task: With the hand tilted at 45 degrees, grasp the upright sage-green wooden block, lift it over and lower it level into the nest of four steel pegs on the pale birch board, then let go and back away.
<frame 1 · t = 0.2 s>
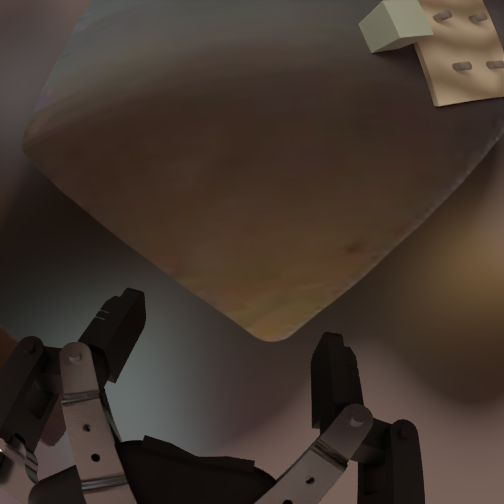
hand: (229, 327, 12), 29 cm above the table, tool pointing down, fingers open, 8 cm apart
peg board: (459, 43, 24), on the table
sage block: (379, 36, 26), on the table
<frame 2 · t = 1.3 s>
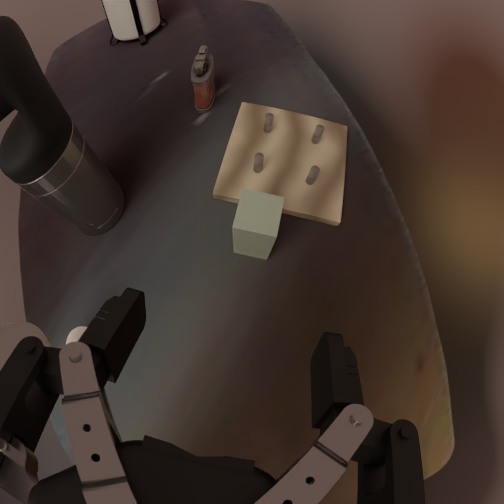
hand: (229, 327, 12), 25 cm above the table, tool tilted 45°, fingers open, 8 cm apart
coffee press: (140, 31, 52), on the table
champagne flute: (84, 349, 34), on the table
peg board: (286, 159, 42), on the table
sage block: (253, 240, 39), on the table
lighter: (205, 98, 45), on the table
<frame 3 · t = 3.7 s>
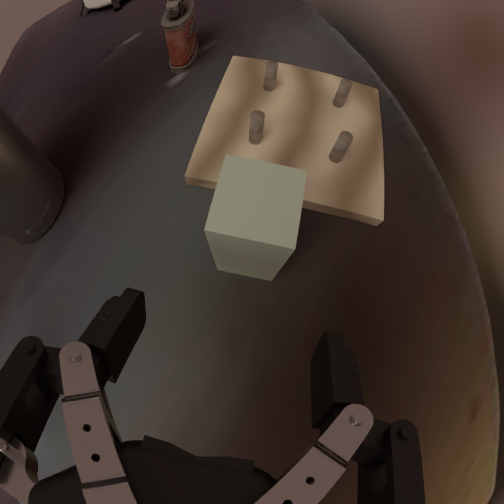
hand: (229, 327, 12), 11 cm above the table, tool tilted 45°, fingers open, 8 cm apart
coffee press: (116, 0, 37), on the table
peg board: (297, 128, 28), on the table
sage block: (249, 249, 24), on the table
lighter: (184, 56, 31), on the table
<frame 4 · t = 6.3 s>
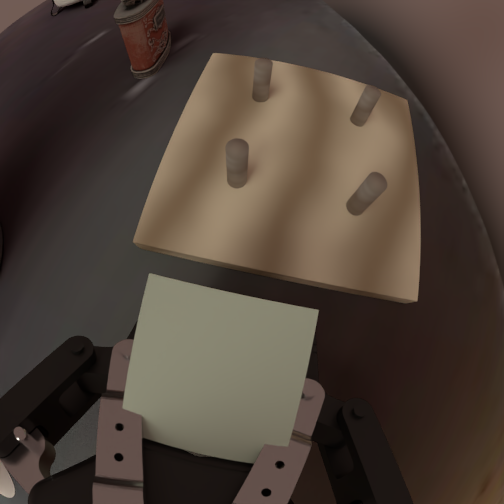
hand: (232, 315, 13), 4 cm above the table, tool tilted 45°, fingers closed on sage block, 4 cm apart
peg board: (300, 156, 20), on the table
sage block: (227, 348, 16), on the table, touching gripper
lighter: (153, 56, 23), on the table
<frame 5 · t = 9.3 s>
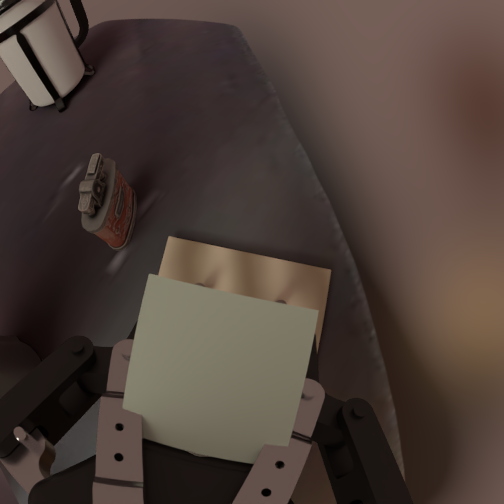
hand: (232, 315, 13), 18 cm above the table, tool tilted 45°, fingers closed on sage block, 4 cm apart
coffee press: (65, 86, 39), on the table
peg board: (232, 336, 30), on the table
sage block: (227, 348, 16), point 14 cm above the table, touching gripper
lighter: (123, 219, 33), on the table
when the fingers open (7 cm above the table, at t = 12.3 s): sage block drops 1 cm, resting on peg board.
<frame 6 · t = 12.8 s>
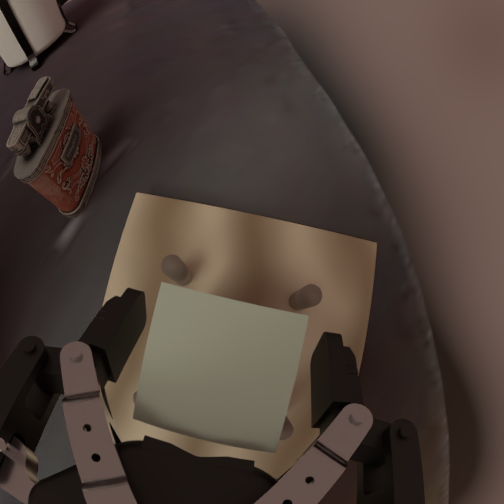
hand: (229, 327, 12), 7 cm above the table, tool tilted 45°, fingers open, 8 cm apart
coffee press: (43, 47, 28), on the table
peg board: (228, 345, 19), on the table
sage block: (228, 348, 17), point 1 cm above the table, touching peg board
lighter: (83, 177, 22), on the table
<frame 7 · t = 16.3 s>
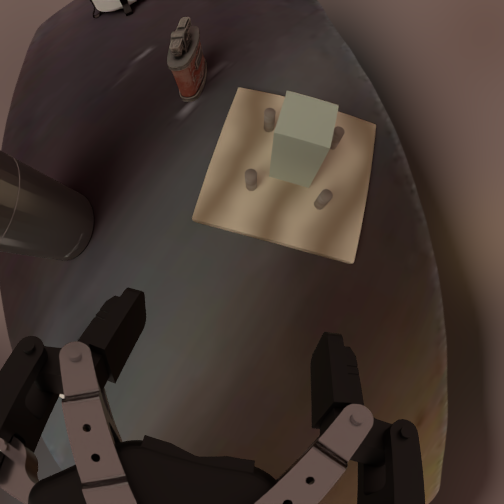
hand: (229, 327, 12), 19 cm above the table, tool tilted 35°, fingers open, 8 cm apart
peg board: (291, 168, 32), on the table
sage block: (293, 164, 31), point 1 cm above the table, touching peg board
lighter: (194, 80, 34), on the table
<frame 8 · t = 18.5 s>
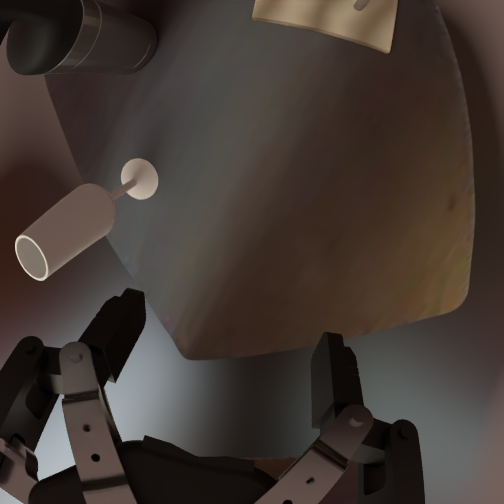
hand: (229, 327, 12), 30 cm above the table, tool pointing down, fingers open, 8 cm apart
champagne flute: (139, 178, 41), on the table
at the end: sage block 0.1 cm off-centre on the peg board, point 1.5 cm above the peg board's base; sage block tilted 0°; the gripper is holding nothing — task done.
